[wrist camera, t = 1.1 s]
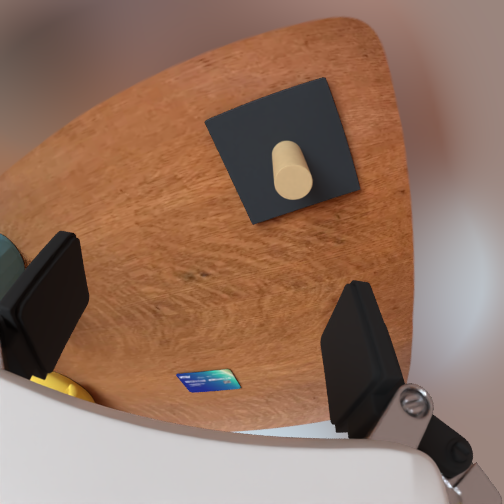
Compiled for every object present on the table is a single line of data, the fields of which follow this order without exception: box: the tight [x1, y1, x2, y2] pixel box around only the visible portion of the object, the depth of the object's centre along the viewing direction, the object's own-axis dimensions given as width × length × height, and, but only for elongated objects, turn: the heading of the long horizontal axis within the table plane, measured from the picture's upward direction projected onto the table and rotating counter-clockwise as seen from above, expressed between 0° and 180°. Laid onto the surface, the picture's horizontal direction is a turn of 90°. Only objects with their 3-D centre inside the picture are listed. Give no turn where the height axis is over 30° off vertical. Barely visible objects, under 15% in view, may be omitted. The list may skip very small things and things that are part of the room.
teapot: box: [30, 371, 95, 403], centre depth 46 cm, size 20×19×13 cm
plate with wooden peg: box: [205, 77, 360, 225], centre depth 22 cm, size 10×10×7 cm
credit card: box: [176, 369, 241, 392], centre depth 44 cm, size 8×5×1 cm, turn 106°
